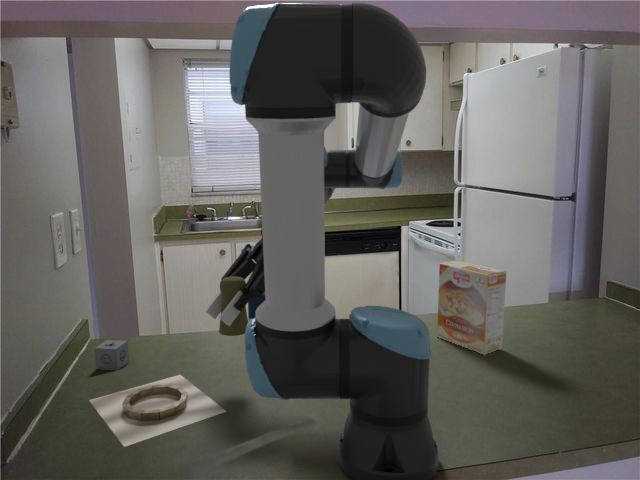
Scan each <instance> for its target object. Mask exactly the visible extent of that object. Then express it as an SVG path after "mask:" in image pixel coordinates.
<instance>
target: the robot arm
mask: <svg viewBox="0 0 640 480" xmlns="http://www.w3.org/2000/svg"><path fill="white" fill-rule="evenodd" d="M229 55H230V56H229V57H230V58H229V85H230V95H231V98H232V101H233V103H235V104H237V105H238V106H243V105H244V111H245V112H244V113H245V120H246V121H247V122H248V123H249V124H250V125H251V126H252V127H253V128H254V129H255V130H256V132H257V134H258V158H259V177H260V178H259V179H260V180H259V181H260V182H259V183H260V204H261V229H260V234H261V239H260V240H259V241H258V242H256V243H255V245H252V244H250V243H246V244H245V246H244V248H243V250H242V251H241V253H240V254H239V256H238V257H237V258H236V259H235V261H234V262H233V263H232V265H230V267H229V268H228V269H227V271H226V272H225V273H224V274H223V276H222V277H221V280H222V279H223V278H226V277H231V276H236V277H241V278H243V279H244V280H245V281H246V279H247V278H248V280H247V281H246V285H245V287H240V289H241V290H242V291H243V293H242V292H241V291H238V292H237V294H236V295H235V296H234V298H233V299H232V300H231V302H230V303H229V304H228V306H227V307H226V308H225V310H224V311H223V312H222V314H221V307H222V297H223V294H222V293H221V291H220V290H219V291H218V293H217V294H216V296H215V297H214V298H213V299H212V300H211V302H210V303H209V304H208V305H207V307H206V309H205V310H204V312H205V313H206V314H208V315H209V316H210V317H211V318H212V319H214V320H216V319H217V318H218V319H219V320H220V319H221V320H222V321H223V322H224V323H225V324H227V325H228V326H230V325H231V324H232V322H233V321H234V320H235V318H236V317H237V316H238V314H239V313H240V312H241V311H242V310H243V308H244V307H245V306H246V305H248V302H249V300H250V299H253V298H254V297H257V298H260V297H261V296H262V295H263V293H264V292H265V301H264V302H263V303H262V304H261V305H259V307H258V308H257V309H256V312H255V318H253V319H251V320H249V319H248V323H247V326H246V331H245V334H244V346H245V347H244V348H245V352H244V354H245V355H244V358H245V363H246V370H247V377H248V379H249V382H250V385H251V387H252V389H253V391H254V392H255V393H256V394H257V395H259V396H260V397H263V398H265V399H266V398H268V399H271V398H272V399H279V400H280V399H281V400H284V401H288V400H290V399H294V400H296V399H298V400H300V399H301V400H306V399H307V400H311V399H312V400H314V399H315V400H324V399H325V400H327V399H328V400H349V411H348V415H347V418H346V420H345V423H344V428H343V431H342V433H341V436H340V438H339V440H338V445H337V446H338V447H337V448H338V449H337V451H338V455H337V456H338V457H337V458H338V459H337V461H338V464H339V466H340V469H341V470H342V471H343V472H344V473H345V475H347V476H348V477H349V478H350V479H352V480H431V479H433V478H434V476H435V475H436V474H437V472H438V467H439V448H438V444H437V442H436V440H435V438H434V436H433V430H432V427H431V422H430V419H429V413H428V412H429V387H430V385H429V384H430V383H429V382H430V381H429V379H430V358H431V356H432V352H431V343H430V342H431V341H430V338H431V337H430V330H429V327H428V326H427V324H426V322H424V321H423V320H422V319H421V318H419V317H418V315H417V316H416V315H415V314H413V313H411V312H408V311H405V310H401V309H398V308H394V307H388V306H381V305H365V306H358V307H355V308H353V309H352V310H351V312H350V314H349V316H348V318H336V312H337V311H336V307H335V306H334V305H333V304H332V302H330V301H329V300H328V299H326V271H325V270H326V264H325V263H326V259H325V258H326V255H325V254H326V253H325V251H326V250H325V248H326V246H325V245H326V244H325V243H326V237H325V233H326V232H325V231H326V229H325V226H326V225H325V224H326V223H325V222H326V221H325V219H326V218H325V205H326V204H327V202H328V201H329V200H330V199H331V198H332V195H333V193H334V192H335V190H336V189H381V190H385V189H390V188H391V189H392V188H393V189H394V188H398V187H399V186H401V184H402V180H403V174H404V160H403V153H402V152H401V151H400V150H399V148H400V144H401V141H402V139H403V138H402V137H403V134H404V131H405V128H406V123H407V122H408V121H407V120H408V119H409V118H408V117H409V114H410V113H412V111H414V109H415V108H417V106H418V105H419V103H420V101H421V100H422V96H423V94H424V90H425V87H426V82H427V65H426V60H425V56H424V53H423V51H422V48H421V46H420V44H419V42H418V40H417V37H415V35H414V33H413V32H412V31H411V30H410V29H409V28H408V26H407V25H406V24H405V23H404V22H403V21H401V20H400V19H399V18H398V17H397V16H395V15H394V14H393V13H391V12H390V11H388V10H386V9H384V8H382V7H380V6H377V5H373V4H369V3H364V2H352V3H290V2H289V3H287V2H285V3H278V2H275V3H269V4H262V5H260V4H259V5H254V6H253V5H252V6H247V7H246V8H245V9H243V10H242V11H241V12H240V14H239V16H238V17H237V20H236V22H235V25H234V28H233V34H232V38H231V47H230V54H229ZM352 103H358V104H359V108H358V117H357V126H356V127H357V130H356V137H355V138H356V142H355V149H326V146H325V130H326V129H327V128H328V127H329V126H330V125H331V124H332V123H333V122H334V121H335V119H336V118H337V117H336V116H337V115H336V112H337V111H336V110H337V109H336V105H337V104H352ZM249 275H250V276H249ZM221 280H220V281H221Z"/></svg>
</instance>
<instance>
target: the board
mask: <svg viewBox="0 0 640 480" xmlns="http://www.w3.org/2000/svg"><path fill="white" fill-rule="evenodd" d="M165 384H170V385H175V386H180V387H182V388H183V389H184V390H186V391H187V392H188V402H187V406H186V408H185V409H183V410H182V411H181V412H179V413H178V414H177V415H174V416H171V417H168V418H165V419H162V420H156V421H137V420H133V419H129V418H128V417H127V416H126V415H125V414H124V413H123V405H122V404H123V402H124V400H125V397H126V396H128V395H129V394H131V393H132V392H134V391H136V390H138V389H141V388H145V387H148V386H153V385H165ZM179 400H180V398H179V397H177V396H174V395H169V394H159V395H151V396H148V397H145V398H141V399H140V400H138V401H136V402H135V403H133V404H132V405H131V406H132V407H133V408H135V409H140V410H158V409H162V408H165V407H168V406H171V405H173V404H174V403H176V402H177V401H179ZM88 401H89V403H91V404H90V405H92V407H93V408H94V409H95V410H96V411H97V413H98V415H99V417H101V419H102V420H103V421H104V422H105V424H106V425H107V427H109V430H110V431H111V432H112V433H113V434H114V436H115V438H116V439H117V440H118V441H119V442H120V444H121V445H122V446H123V448H126V447H129V446H132V445H135V444H138V443H141V442H144V441H147V440H149V439H152V438H155V437H158V436H161V435H163V434H166V433H169V432H173V431H176V430H178V429H181V428H184V427H186V426H187V427H188V426H190V425H192V424H197V423H199V422H201V421H204V420H207V419H210V418H212V417H216V416H218V415H221V414H224V413H227V412H228V411H227V410H226V409H224V408H223V407H222V406H220V405H219V404H218V403H216V402H215V400H214V399H212V398H211V397H209V396H208V395H207V394H205V393H204V392H203V391H202V390H201V389H199V388H198V387H196V386H195V385H194V384H193V383H192V382H191V381H189V380H188V379H187V378H186V377H184V376H182V374H177V375H173V376H170V377H166V378H163V379H160V380H156V381H153V382H149V383H145V384H142V385H138V386H135V387H131V388H128V389H124V390H120V391H117V392H112V393H110V394H106V395H103V396H99V397H95V398H92V399H89V400H88Z"/></svg>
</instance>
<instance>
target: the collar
mask: <svg viewBox="0 0 640 480" xmlns="http://www.w3.org/2000/svg"><path fill="white" fill-rule="evenodd" d="M159 394H169V395H174V396H177V397H179V398H180V400H179V401H177V402H176V403H174V404H173V405H171V406H168V407H165V408H162V409H158V410H140V409H135V408H133V407H132V406H131V405H132V404H133V403H135V402H136V401H138V400H140V399H141V398H145V397H148V396H151V395H159ZM187 402H188V392H187V391H186V390H184V389H183V388H182V387H180V386H175V385H170V384H165V385H153V386H148V387H145V388H141V389H138V390H136V391H134V392H132V393H131V394H129V395H128V396H126V397H125V400H124V402H123V404H122V405H123V413H124V414H125V415H126V416H127V417H128V418H129V419H133V420H137V421H156V420H162V419H165V418H168V417H171V416H174V415H177V414H178V413H179V412H181V411H182V410H183V409H185V408H186V406H187Z"/></svg>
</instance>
